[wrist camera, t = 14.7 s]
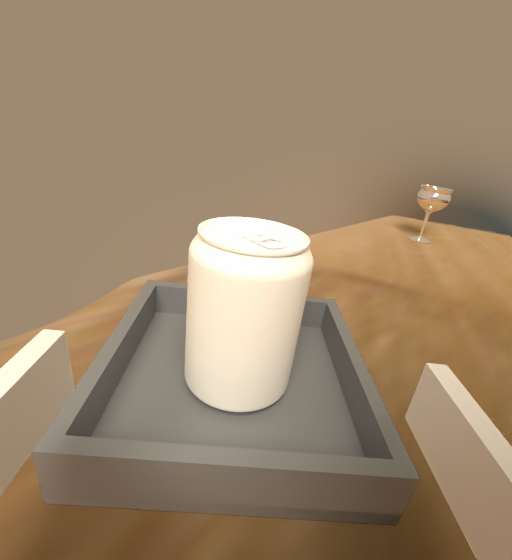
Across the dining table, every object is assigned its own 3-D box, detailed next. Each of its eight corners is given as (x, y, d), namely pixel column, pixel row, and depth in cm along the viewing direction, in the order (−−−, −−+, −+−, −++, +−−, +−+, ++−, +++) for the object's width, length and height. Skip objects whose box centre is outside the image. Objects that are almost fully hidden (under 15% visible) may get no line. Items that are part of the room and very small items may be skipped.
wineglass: (402, 239, 75) (419, 186, 70) (405, 233, 81) (421, 183, 76) (434, 246, 73) (454, 192, 68) (434, 240, 78) (453, 189, 73)
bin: (326, 331, 35) (334, 299, 34) (396, 525, 18) (420, 479, 16) (149, 314, 34) (148, 280, 32) (44, 503, 17) (31, 451, 15)
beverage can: (235, 335, 31) (249, 210, 26) (306, 380, 26) (340, 240, 21) (162, 374, 25) (162, 222, 20) (237, 441, 21) (262, 267, 16)
